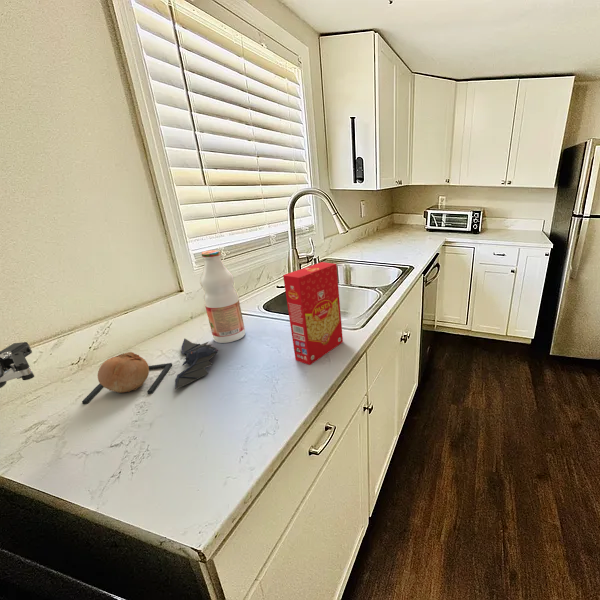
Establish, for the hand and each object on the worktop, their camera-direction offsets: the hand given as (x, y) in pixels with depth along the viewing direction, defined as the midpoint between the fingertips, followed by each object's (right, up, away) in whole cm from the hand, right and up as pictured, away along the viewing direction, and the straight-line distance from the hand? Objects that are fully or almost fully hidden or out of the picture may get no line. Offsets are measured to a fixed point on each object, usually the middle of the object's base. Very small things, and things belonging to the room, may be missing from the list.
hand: (23, 347), depth 54 cm
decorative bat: (+7, -10, +38) cm, 39 cm away
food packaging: (+39, -7, +42) cm, 58 cm away
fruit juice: (+8, -4, +51) cm, 52 cm away
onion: (-4, -14, +26) cm, 30 cm away
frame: (-5, -13, +28) cm, 31 cm away
